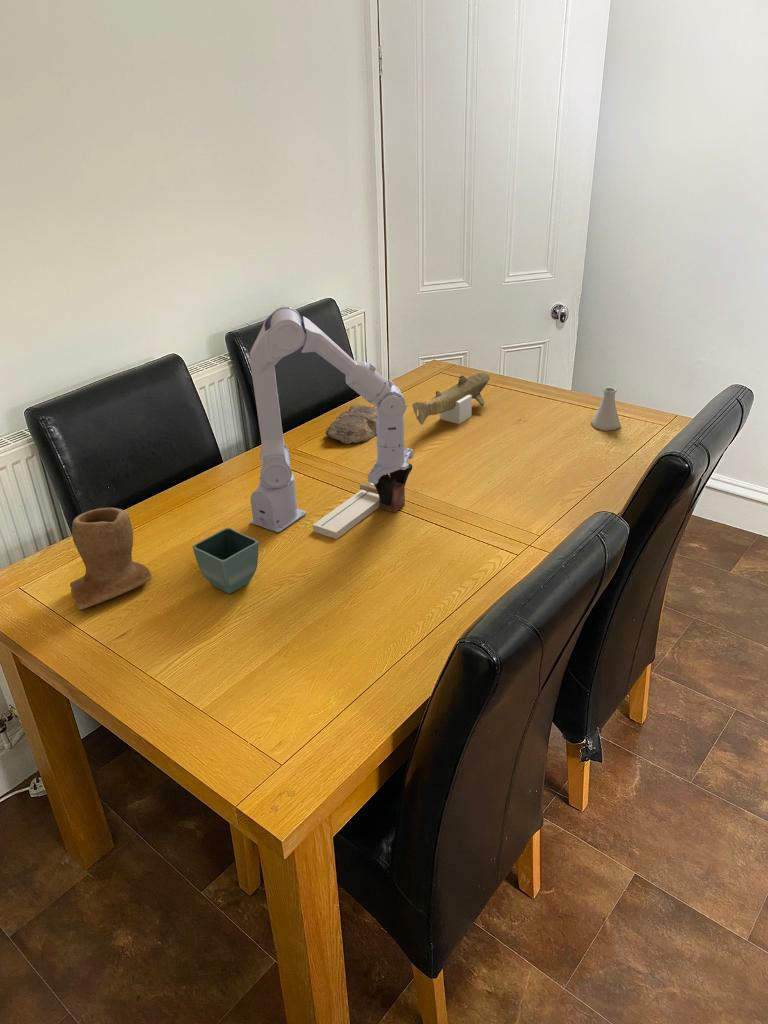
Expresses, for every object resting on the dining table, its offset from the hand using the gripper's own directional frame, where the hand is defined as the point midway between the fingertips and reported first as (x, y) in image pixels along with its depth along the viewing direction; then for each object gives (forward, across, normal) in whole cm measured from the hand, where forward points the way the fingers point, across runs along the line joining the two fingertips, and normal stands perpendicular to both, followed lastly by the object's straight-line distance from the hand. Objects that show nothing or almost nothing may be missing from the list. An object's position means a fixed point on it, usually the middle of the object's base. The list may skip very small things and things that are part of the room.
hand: (391, 499), depth 174 cm
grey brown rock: (+2, +28, +30) cm, 42 cm away
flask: (+2, +64, -24) cm, 68 cm away
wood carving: (+2, +47, +12) cm, 49 cm away
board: (+2, -6, +5) cm, 8 cm away
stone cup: (+2, -53, +29) cm, 60 cm away
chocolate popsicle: (+2, 0, +3) cm, 3 cm away
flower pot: (+2, -40, +10) cm, 41 cm away
